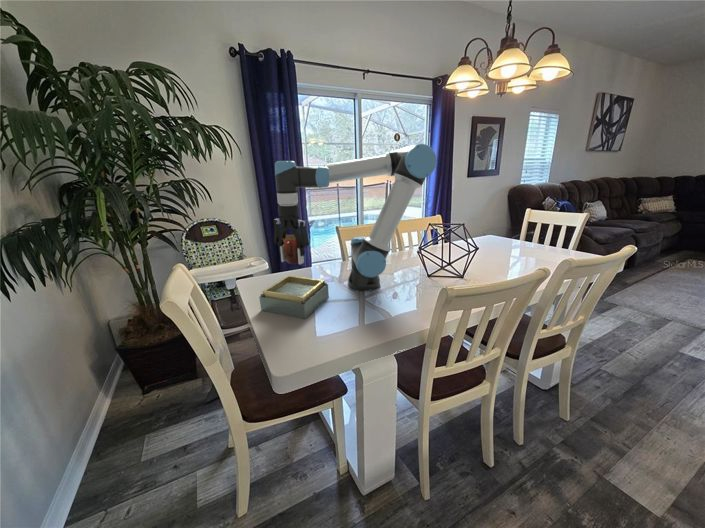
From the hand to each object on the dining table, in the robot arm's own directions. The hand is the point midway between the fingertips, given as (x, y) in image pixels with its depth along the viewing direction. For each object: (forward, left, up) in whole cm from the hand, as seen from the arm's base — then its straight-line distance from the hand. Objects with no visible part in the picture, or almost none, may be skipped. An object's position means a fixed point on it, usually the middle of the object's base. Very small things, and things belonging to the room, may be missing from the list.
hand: (292, 262), depth 115 cm
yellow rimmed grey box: (0, +2, -18) cm, 19 cm away
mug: (0, 0, -1) cm, 1 cm away
